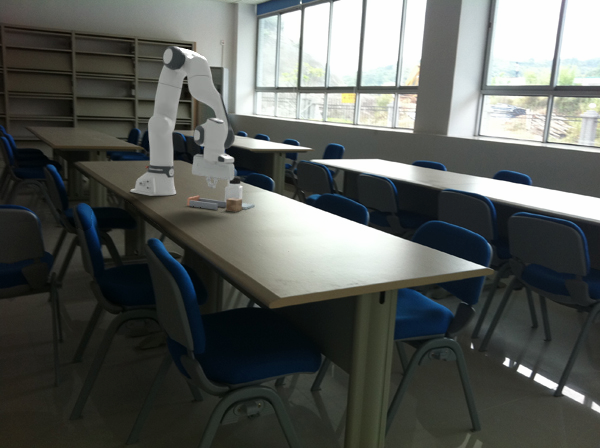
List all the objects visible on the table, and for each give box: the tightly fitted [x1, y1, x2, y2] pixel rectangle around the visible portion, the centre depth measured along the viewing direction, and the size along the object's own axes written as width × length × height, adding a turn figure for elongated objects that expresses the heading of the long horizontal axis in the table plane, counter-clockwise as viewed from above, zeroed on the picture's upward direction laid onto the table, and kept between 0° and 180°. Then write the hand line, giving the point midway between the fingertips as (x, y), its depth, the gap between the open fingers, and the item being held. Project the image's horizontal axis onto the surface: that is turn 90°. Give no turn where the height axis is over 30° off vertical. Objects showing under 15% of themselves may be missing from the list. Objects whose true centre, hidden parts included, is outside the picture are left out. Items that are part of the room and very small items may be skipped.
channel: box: [187, 195, 226, 211], centre depth 233 cm, size 15×8×4 cm, turn 68°
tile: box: [242, 202, 255, 210], centre depth 237 cm, size 9×9×1 cm
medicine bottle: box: [224, 175, 244, 201], centre depth 249 cm, size 7×7×12 cm
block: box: [225, 198, 243, 213], centre depth 228 cm, size 5×5×5 cm
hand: (211, 187), depth 229 cm, fingers closed
